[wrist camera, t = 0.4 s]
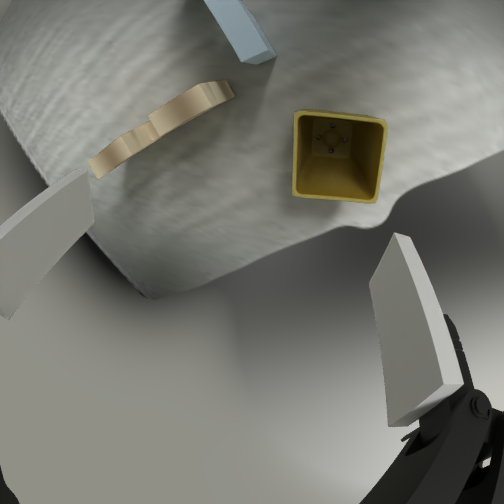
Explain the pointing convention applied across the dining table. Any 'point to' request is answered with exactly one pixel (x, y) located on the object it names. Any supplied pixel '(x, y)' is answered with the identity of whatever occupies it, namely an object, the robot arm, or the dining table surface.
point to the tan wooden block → (161, 124)
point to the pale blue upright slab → (241, 31)
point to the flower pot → (337, 156)
